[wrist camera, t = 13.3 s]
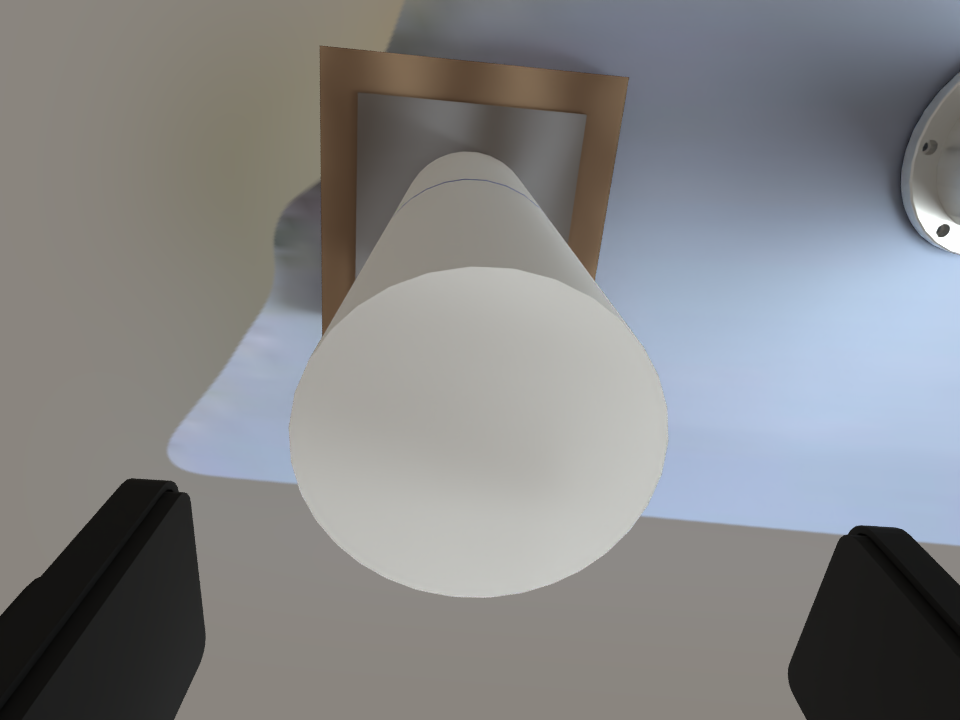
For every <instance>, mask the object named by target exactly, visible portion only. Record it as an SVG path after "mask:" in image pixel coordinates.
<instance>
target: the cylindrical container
mask: <svg viewBox="0 0 960 720" xmlns="http://www.w3.org/2000/svg"><path fill="white" fill-rule="evenodd" d="M289 438H290V453H291V463H292V466H293V470H294V473H295V476H296V479H297V482H298V486H299V489H300V492H301V494H302V496H303V498H304V500H305V501H306V503H307V505H308V507H309V508H310V510H311V512H312V514H313V516H314V517H315V519H316V521H317V522H318V523H319V524H320V526H321V527H322V528H323V529H324V530H325V531H326V533H327V534H328V535H329V536H330V537H331V538H332V540H333V541H334V542H335V543H336V544H337V545H338V546H339V547H341V548H342V549H343V550H344V551H345V552H347V553H348V554H349V555H350V556H352V557H353V558H354V559H355V560H357V561H358V562H359V563H360V564H362V565H364V566H366V567H367V568H369V569H371V570H373V571H375V572H376V573H378V574H380V575H382V576H383V577H385V578H387V579H389V580H392V581H395V582H397V583H400V584H403V585H406V586H409V587H411V588H414V589H417V590H420V591H426V592H430V593H436V594H441V595H446V596H452V597H484V598H485V597H486V598H488V597H496V596H503V595H511V594H518V593H523V592H526V591H530V590H533V589H537V588H540V587H543V586H547V585H550V584H553V583H555V582H557V581H560V580H562V579H563V578H566V577H568V576H570V575H572V574H574V573H577V572H579V571H581V570H582V569H584V568H585V567H587V566H588V565H589V564H591V563H592V562H594V561H595V560H597V559H598V558H600V557H601V556H602V555H604V554H606V553H607V552H608V551H609V550H610V549H611V548H612V547H613V546H614V545H615V544H616V543H617V542H618V541H619V540H620V539H622V537H624V536H625V535H626V534H627V533H628V532H629V531H630V529H631V528H632V526H633V525H634V524H635V522H636V521H637V519H638V518H639V517H640V515H641V514H642V513H643V511H644V510H645V508H646V507H647V506H648V504H649V502H650V499H651V497H652V495H653V493H654V490H655V488H656V486H657V484H658V481H659V479H660V477H661V475H662V470H663V465H664V460H665V455H666V450H667V445H668V420H667V406H666V402H665V398H664V394H663V391H662V387H661V383H660V380H659V376H658V374H657V372H656V370H655V368H654V366H653V364H652V362H651V361H650V359H649V357H648V355H647V353H646V351H645V349H644V347H643V346H642V344H641V343H640V342H639V340H638V339H637V338H636V336H635V335H634V334H633V332H632V331H631V330H630V328H629V327H628V326H627V324H626V323H625V321H624V320H623V319H622V317H621V316H620V315H619V313H618V312H617V311H616V309H615V308H614V307H613V305H612V304H611V303H610V301H609V300H608V298H607V297H606V296H605V294H604V293H603V292H602V290H601V289H600V288H599V286H598V285H597V284H596V282H595V281H594V280H593V278H592V277H591V275H590V274H589V273H588V271H587V270H586V269H585V267H584V266H583V265H582V263H581V262H580V261H579V259H578V258H577V257H576V255H575V254H574V252H573V251H572V250H571V248H570V247H569V246H568V244H567V243H566V242H565V240H564V239H563V238H562V236H561V235H560V234H559V232H558V231H557V229H556V228H555V227H554V225H553V224H552V223H551V221H550V220H549V219H548V217H547V216H546V215H545V213H544V212H543V211H542V209H541V208H540V206H539V205H538V204H537V202H536V201H535V200H534V198H533V197H532V196H531V194H530V193H529V192H528V190H527V189H526V188H525V186H524V185H523V183H522V182H521V181H520V179H519V178H518V177H517V176H516V175H515V173H514V172H513V171H512V170H511V169H510V168H509V167H507V166H506V165H505V164H504V163H503V162H501V161H499V160H497V159H495V158H493V157H491V156H489V155H485V154H482V153H478V152H465V151H463V152H457V153H450V154H448V155H445V156H442V157H440V158H438V159H436V160H434V161H433V162H431V163H430V164H428V165H427V166H426V167H425V168H424V169H423V170H422V171H421V172H419V174H418V175H417V176H416V178H415V179H414V181H413V182H412V183H411V185H410V187H409V189H408V190H407V192H406V194H405V196H404V197H403V199H402V201H401V203H400V204H399V206H398V208H397V210H396V211H395V213H394V215H393V216H392V218H391V220H390V222H389V223H388V225H387V227H386V228H385V230H384V232H383V234H382V235H381V237H380V239H379V240H378V242H377V244H376V246H375V247H374V249H373V251H372V252H371V254H370V256H369V258H368V259H367V261H366V263H365V264H364V266H363V268H362V270H361V271H360V273H359V275H358V276H357V278H356V280H355V282H354V283H353V285H352V287H351V288H350V290H349V292H348V294H347V295H346V297H345V299H344V300H343V302H342V304H341V306H340V307H339V309H338V311H337V313H336V314H335V316H334V318H333V319H332V321H331V323H330V325H329V326H328V328H327V330H326V331H325V333H324V335H323V337H322V338H321V340H320V342H319V343H318V345H317V347H316V349H315V350H314V352H313V354H312V355H311V357H310V359H309V361H308V363H307V366H306V368H305V370H304V373H303V375H302V377H301V379H300V382H299V384H298V386H297V389H296V391H295V394H294V400H293V406H292V412H291V417H290V423H289Z"/></svg>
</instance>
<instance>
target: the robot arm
mask: <svg viewBox="0 0 960 720" xmlns="http://www.w3.org/2000/svg"><path fill="white" fill-rule="evenodd" d="M901 192H902V198H903V204H904V208H905V210H906V213H907V215H908V217H909V220H910V222H911V224H912V225H913V226H914V228H915V229H916V230H917V232H918V233H919V234H920V235H921V236H922V237H923V238H924V239H926V240H927V241H928V242H930V243H931V244H932V245H934V246H936V247H938V248H941V249H943V250H945V251H947V252H951V253H954V254H958V255H960V72H959V73H958V74H957V75H956V76H955V77H954V78H953V79H952V80H951V81H949V82H948V83H947V84H946V85H945V86H944V87H943V88H942V89H941V90H940V91H939V93H938V94H937V95H936V96H935V98H934V99H933V100H932V102H931V103H930V104H929V105H928V107H927V108H926V109H925V111H924V113H923V114H922V116H921V118H920V120H919V121H918V123H917V125H916V127H915V128H914V130H913V133H912V135H911V138H910V141H909V143H908V146H907V148H906V151H905V156H904V161H903V166H902V171H901ZM204 647H205V625H204V617H203V607H202V598H201V590H200V581H199V572H198V563H197V554H196V545H195V536H194V527H193V518H192V509H191V501H190V497H189V495H188V494H187V493H183V492H179V491H178V487H177V485H176V484H175V483H174V482H172V481H164V480H148V479H133V478H131V479H128V480H126V481H125V482H124V483H122V484H121V486H120V487H119V488H118V489H117V490H116V491H115V492H114V493H113V495H112V496H111V497H110V498H109V499H108V500H107V501H106V503H105V504H104V505H103V506H102V507H101V508H100V509H99V511H98V512H97V513H96V514H95V515H94V516H93V518H92V519H91V520H90V521H89V522H88V523H87V524H86V525H85V527H84V528H83V529H82V530H81V531H80V532H79V534H78V535H77V536H76V537H75V538H74V539H73V540H72V541H71V543H70V544H69V545H68V546H67V547H66V549H65V550H64V551H63V552H62V553H61V554H60V555H59V556H58V557H57V559H56V560H55V561H54V562H53V563H52V565H50V567H49V568H48V569H47V570H46V571H45V572H44V573H43V575H42V576H41V577H39V578H37V579H35V580H34V581H32V582H31V583H30V584H29V585H28V586H27V587H26V588H25V589H24V590H23V591H22V592H21V593H20V594H19V596H18V597H17V598H16V599H15V600H14V601H13V602H12V603H11V604H10V606H9V607H8V608H7V609H6V610H5V611H4V612H3V614H2V615H1V616H0V720H174V718H175V716H176V714H177V712H178V709H179V708H180V705H181V703H182V701H183V699H184V697H185V695H186V693H187V690H188V688H189V686H190V684H191V682H192V680H193V677H194V675H195V673H196V671H197V669H198V667H199V664H200V662H201V659H202V656H203V652H204ZM788 680H789V685H790V688H791V691H792V693H793V695H794V697H795V699H796V701H797V703H798V704H799V706H800V708H801V710H802V712H803V714H804V715H805V717H806V719H807V720H960V585H959V584H958V583H957V582H956V581H955V580H954V579H953V578H952V577H951V576H950V575H949V574H948V573H947V572H946V571H945V570H944V569H943V568H942V567H941V566H940V565H939V564H938V563H937V562H936V561H935V560H934V559H933V558H932V557H931V556H930V555H929V554H928V553H927V552H926V551H925V550H924V549H923V548H922V547H921V546H920V545H919V544H918V543H917V542H916V541H915V540H914V539H913V538H912V537H911V536H910V535H909V534H908V533H907V532H905V531H904V530H903V529H899V528H894V527H878V526H863V525H861V526H855V527H854V528H853V529H852V530H850V532H849V534H848V535H844V536H842V537H841V538H840V539H839V541H838V543H837V546H836V548H835V551H834V553H833V556H832V558H831V561H830V563H829V566H828V568H827V571H826V573H825V576H824V578H823V581H822V583H821V586H820V588H819V591H818V593H817V596H816V599H815V601H814V603H813V606H812V608H811V611H810V613H809V616H808V618H807V621H806V623H805V626H804V628H803V631H802V634H801V636H800V639H799V641H798V644H797V646H796V649H795V651H794V654H793V656H792V659H791V661H790V664H789V668H788Z"/></svg>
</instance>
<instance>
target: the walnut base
mask: <svg viewBox="0 0 960 720" xmlns="http://www.w3.org/2000/svg"><path fill="white" fill-rule="evenodd" d="M628 80H629V77H620V76H611V75H601V74H591V73H581V72H572V71H562V70H552V69H542V68H533V67H523V66H513V65H503V64H494V63H484V62H474V61H464V60H455V59H445V58H435V57H426V56H416V55H406V54H396V53H387V52H376V51H367V50H356V49H347V48H338V47H328V46H320V119H321V120H320V123H321V124H320V125H321V126H320V127H321V240H322V337H323V335H324V333H325V331H326V330H327V328H328V326H329V325H330V323H331V321H332V319H333V318H334V316H335V314H336V313H337V311H338V309H339V307H340V306H341V304H342V302H343V300H344V299H345V297H346V295H347V294H348V292H349V290H350V288H351V287H352V285H353V283H354V282H355V280H356V278H357V276H358V275H359V273H360V271H361V270H362V268H363V266H364V264H365V263H366V261H367V259H368V258H369V256H370V254H371V252H372V251H373V249H374V247H375V246H376V244H377V242H378V240H379V239H380V237H381V235H382V234H383V232H384V230H385V228H386V227H387V225H388V223H389V222H390V220H391V218H392V216H393V215H394V213H395V211H396V210H397V208H398V206H399V204H400V203H401V201H402V199H403V197H404V196H405V194H406V192H407V190H408V189H409V187H410V185H411V183H412V182H413V181H414V179H415V178H416V176H417V175H418V174H419V172H421V171H422V170H423V169H424V168H425V167H426V166H427V165H428V164H430V163H431V162H433V161H434V160H436V159H438V158H440V157H442V156H445V155H448V154H450V153H457V152H463V151H465V152H478V153H482V154H485V155H489V156H491V157H493V158H495V159H497V160H499V161H501V162H503V163H504V164H505V165H506V166H507V167H509V168H510V169H511V170H512V171H513V172H514V173H515V175H516V176H517V177H518V178H519V179H520V181H521V182H522V183H523V185H524V186H525V188H526V189H527V190H528V192H529V193H530V194H531V196H532V197H533V198H534V200H535V201H536V202H537V204H538V205H539V206H540V208H541V209H542V211H543V212H544V213H545V215H546V216H547V217H548V219H549V220H550V221H551V223H552V224H553V225H554V227H555V228H556V229H557V231H558V232H559V234H560V235H561V236H562V238H563V239H564V240H565V242H566V243H567V244H568V246H569V247H570V248H571V250H572V251H573V252H574V254H575V255H576V257H577V258H578V259H579V261H580V262H581V263H582V265H583V266H584V267H585V269H586V270H587V271H588V273H589V274H590V275H591V277H592V278H593V280H594V281H595V276H596V270H597V264H598V258H599V252H600V246H601V240H602V234H603V228H604V222H605V216H606V211H607V205H608V199H609V193H610V187H611V181H612V175H613V169H614V163H615V157H616V151H617V145H618V140H619V134H620V128H621V122H622V116H623V110H624V104H625V98H626V92H627V86H628Z"/></svg>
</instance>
